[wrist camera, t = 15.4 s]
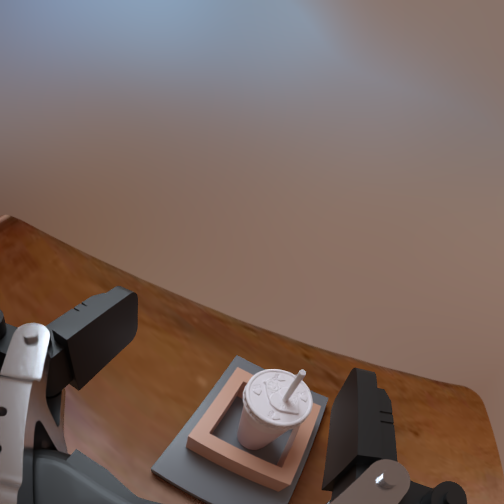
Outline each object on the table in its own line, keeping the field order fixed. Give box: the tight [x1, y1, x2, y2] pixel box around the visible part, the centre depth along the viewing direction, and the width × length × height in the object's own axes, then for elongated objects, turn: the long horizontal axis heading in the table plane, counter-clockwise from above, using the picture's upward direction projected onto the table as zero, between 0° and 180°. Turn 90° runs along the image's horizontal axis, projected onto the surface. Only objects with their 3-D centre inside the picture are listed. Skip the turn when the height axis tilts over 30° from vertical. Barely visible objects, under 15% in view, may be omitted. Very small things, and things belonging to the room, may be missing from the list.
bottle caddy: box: [151, 355, 328, 504], centre depth 28 cm, size 14×20×5 cm
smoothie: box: [237, 369, 313, 450], centre depth 25 cm, size 6×6×14 cm
